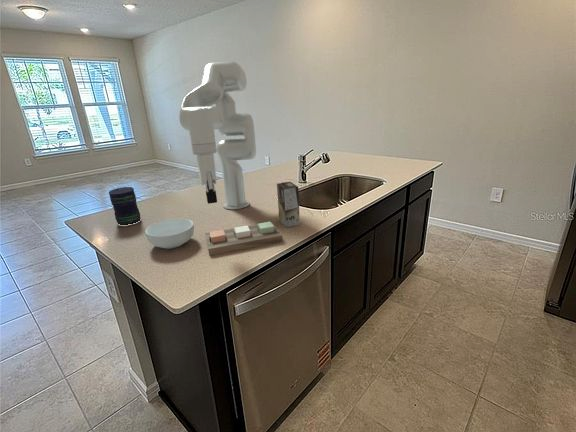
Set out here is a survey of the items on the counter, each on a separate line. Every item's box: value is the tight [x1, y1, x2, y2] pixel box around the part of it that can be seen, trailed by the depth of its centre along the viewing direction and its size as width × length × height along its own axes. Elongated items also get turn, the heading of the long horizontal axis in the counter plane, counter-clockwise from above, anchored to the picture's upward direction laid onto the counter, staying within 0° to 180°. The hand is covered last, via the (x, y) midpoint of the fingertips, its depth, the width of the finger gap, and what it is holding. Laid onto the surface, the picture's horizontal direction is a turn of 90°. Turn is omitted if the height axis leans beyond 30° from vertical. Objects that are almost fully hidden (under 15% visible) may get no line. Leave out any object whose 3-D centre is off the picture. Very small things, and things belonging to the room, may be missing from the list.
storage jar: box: [108, 186, 142, 225], centre depth 136 cm, size 10×10×15 cm
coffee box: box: [276, 181, 301, 228], centre depth 126 cm, size 9×6×16 cm
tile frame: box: [204, 221, 283, 256], centre depth 115 cm, size 14×26×2 cm, turn 108°
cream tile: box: [233, 225, 251, 239], centre depth 114 cm, size 5×5×3 cm
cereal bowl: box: [144, 218, 195, 250], centre depth 115 cm, size 17×17×7 cm
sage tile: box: [257, 221, 274, 234], centre depth 117 cm, size 5×5×3 cm
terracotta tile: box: [209, 229, 226, 243], centre depth 112 cm, size 5×5×3 cm
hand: (212, 202), depth 107 cm, fingers closed
